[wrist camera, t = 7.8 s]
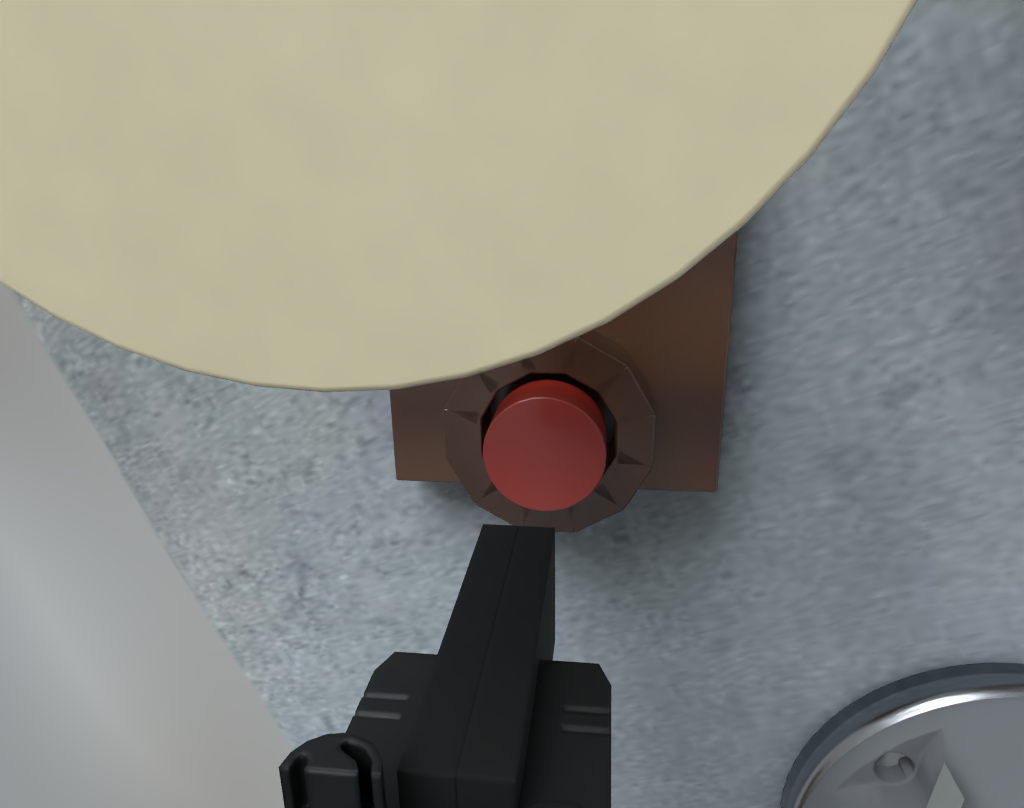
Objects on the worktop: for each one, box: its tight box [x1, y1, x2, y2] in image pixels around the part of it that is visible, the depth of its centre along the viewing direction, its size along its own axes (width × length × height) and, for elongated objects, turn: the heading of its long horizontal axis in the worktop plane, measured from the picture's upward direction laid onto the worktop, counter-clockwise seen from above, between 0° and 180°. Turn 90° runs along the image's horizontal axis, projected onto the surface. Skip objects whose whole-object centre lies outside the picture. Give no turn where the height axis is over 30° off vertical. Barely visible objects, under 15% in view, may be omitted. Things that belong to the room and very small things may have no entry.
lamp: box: [0, 0, 917, 392], centre depth 11 cm, size 7×7×17 cm
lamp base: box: [390, 230, 738, 532], centre depth 23 cm, size 17×11×4 cm, turn 1°
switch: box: [483, 380, 607, 511], centre depth 22 cm, size 4×4×2 cm
